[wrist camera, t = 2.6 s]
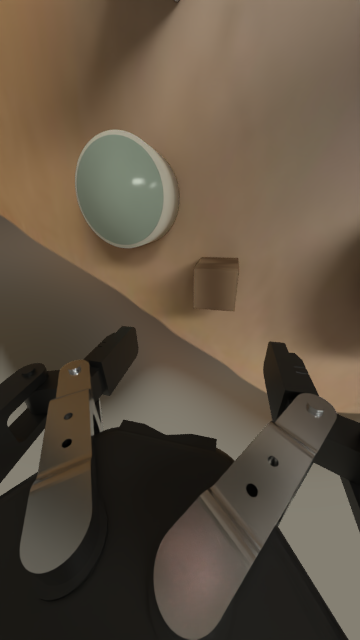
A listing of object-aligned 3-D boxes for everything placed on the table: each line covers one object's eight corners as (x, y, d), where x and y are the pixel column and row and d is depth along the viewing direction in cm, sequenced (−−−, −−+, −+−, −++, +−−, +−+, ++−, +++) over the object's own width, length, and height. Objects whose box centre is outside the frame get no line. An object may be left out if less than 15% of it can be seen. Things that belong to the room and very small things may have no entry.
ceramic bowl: (178, 141, 21) (163, 121, 16) (180, 242, 26) (169, 249, 21) (94, 150, 23) (60, 135, 19) (110, 242, 28) (86, 248, 23)
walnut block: (238, 257, 25) (239, 269, 20) (234, 292, 27) (234, 311, 22) (201, 257, 26) (193, 268, 21) (201, 290, 28) (193, 308, 23)
